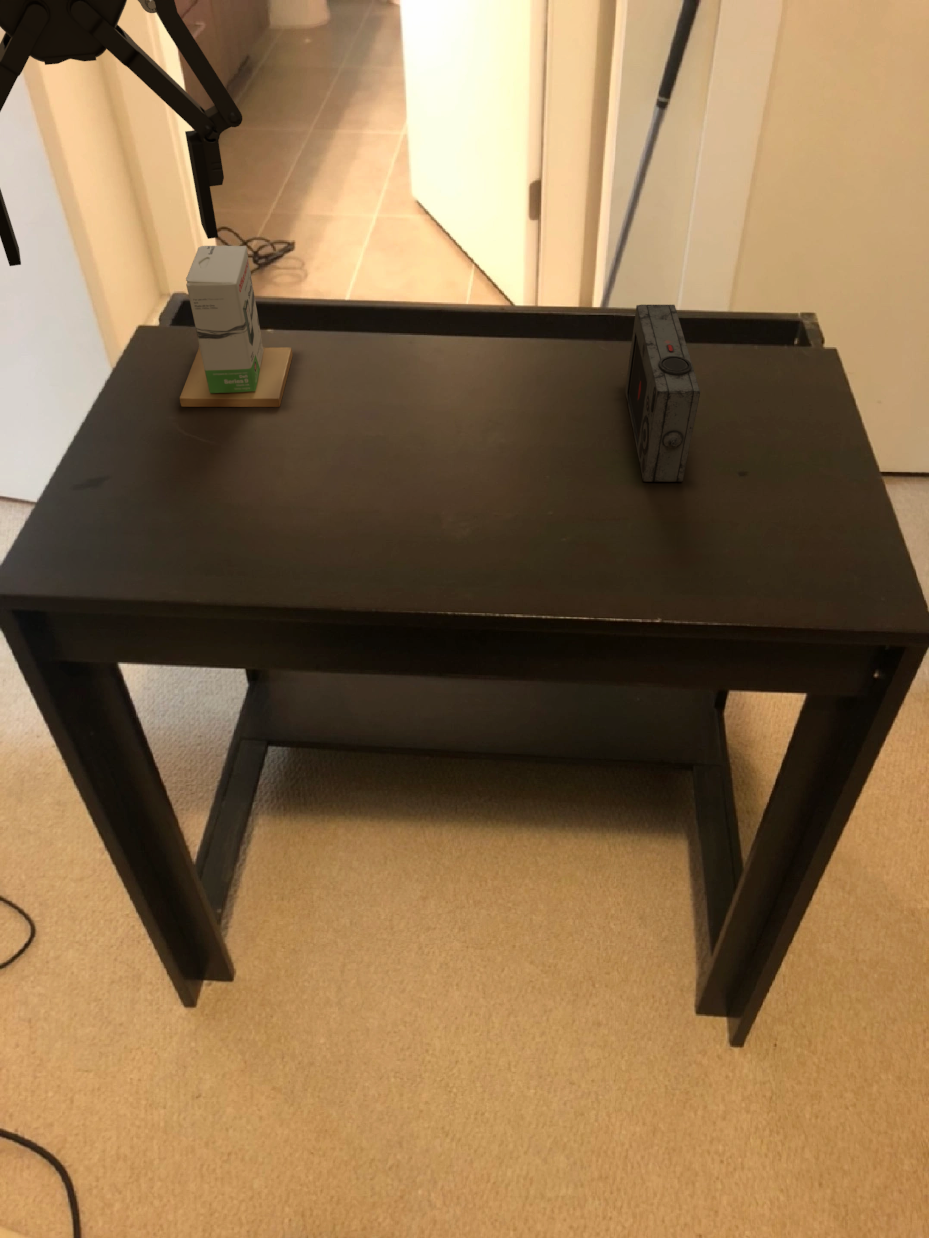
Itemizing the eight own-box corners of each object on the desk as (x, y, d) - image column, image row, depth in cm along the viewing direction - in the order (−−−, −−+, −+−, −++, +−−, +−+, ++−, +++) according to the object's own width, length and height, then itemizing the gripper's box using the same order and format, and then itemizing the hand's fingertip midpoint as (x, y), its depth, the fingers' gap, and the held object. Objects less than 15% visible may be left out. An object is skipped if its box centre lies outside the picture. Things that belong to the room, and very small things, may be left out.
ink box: (256, 394, 99) (237, 283, 91) (207, 395, 99) (183, 284, 91) (265, 350, 105) (247, 242, 97) (218, 351, 105) (197, 243, 97)
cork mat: (181, 407, 99) (179, 398, 99) (200, 355, 106) (198, 347, 106) (279, 407, 99) (278, 398, 99) (292, 355, 106) (291, 347, 106)
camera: (686, 490, 90) (705, 395, 83) (643, 490, 90) (658, 395, 83) (661, 392, 101) (676, 301, 94) (623, 392, 101) (635, 301, 94)
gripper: (232, -143, 61) (274, 201, 76) (-214, -126, 55) (-73, 247, 70) (258, -124, 56) (297, 240, 71) (-230, -103, 50) (-74, 293, 65)
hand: (114, 244), depth 70 cm, fingers open, 13 cm apart
